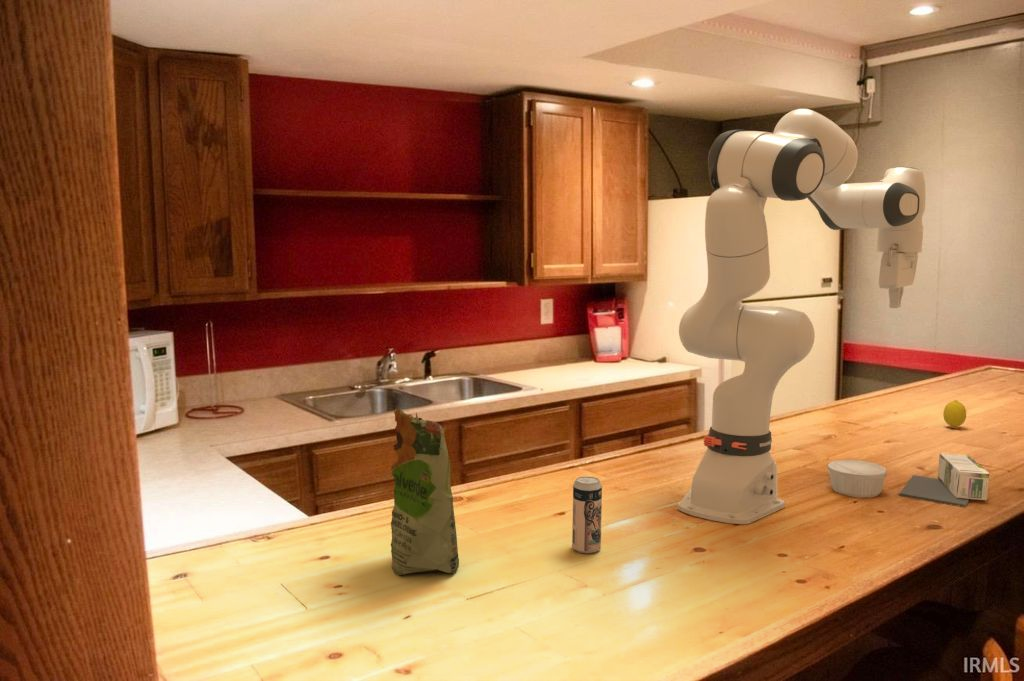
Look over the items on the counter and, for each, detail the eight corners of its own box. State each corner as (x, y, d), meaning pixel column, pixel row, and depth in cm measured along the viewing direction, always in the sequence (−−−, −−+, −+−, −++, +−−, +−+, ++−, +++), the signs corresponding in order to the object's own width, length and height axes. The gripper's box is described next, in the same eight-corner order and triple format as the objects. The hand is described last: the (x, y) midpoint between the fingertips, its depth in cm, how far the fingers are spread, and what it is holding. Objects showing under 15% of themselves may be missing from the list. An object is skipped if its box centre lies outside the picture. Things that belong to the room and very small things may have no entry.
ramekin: (817, 491, 166) (819, 466, 166) (838, 479, 174) (840, 456, 174) (873, 503, 159) (875, 478, 158) (892, 491, 167) (894, 466, 166)
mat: (966, 507, 157) (966, 504, 157) (899, 495, 164) (899, 493, 163) (975, 487, 170) (975, 484, 169) (912, 477, 176) (913, 474, 176)
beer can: (592, 557, 131) (594, 486, 129) (566, 551, 133) (568, 481, 132) (605, 547, 135) (607, 478, 133) (580, 542, 137) (581, 474, 136)
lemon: (965, 427, 224) (967, 399, 223) (964, 431, 219) (966, 402, 218) (943, 425, 227) (945, 397, 226) (941, 429, 222) (943, 400, 221)
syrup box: (965, 480, 173) (989, 501, 159) (935, 478, 174) (956, 498, 160) (968, 454, 172) (992, 473, 158) (938, 452, 173) (959, 471, 159)
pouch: (449, 586, 120) (449, 422, 116) (373, 579, 122) (371, 418, 118) (466, 557, 130) (467, 406, 127) (396, 551, 132) (395, 403, 129)
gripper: (906, 244, 163) (901, 312, 165) (923, 244, 180) (918, 305, 182) (873, 244, 167) (869, 310, 169) (892, 243, 183) (888, 304, 185)
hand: (894, 307), depth 175 cm, fingers closed
